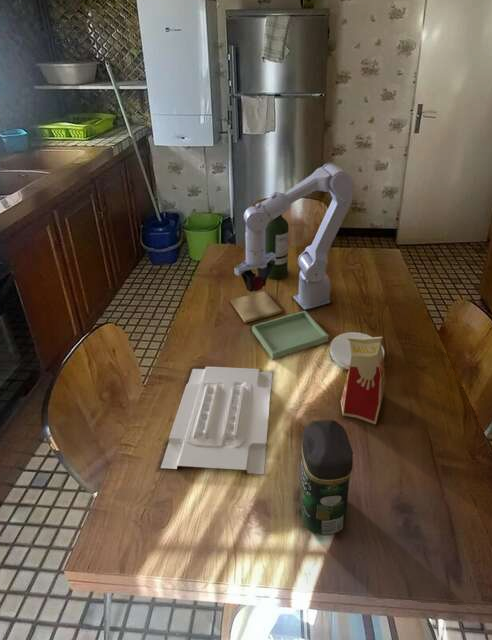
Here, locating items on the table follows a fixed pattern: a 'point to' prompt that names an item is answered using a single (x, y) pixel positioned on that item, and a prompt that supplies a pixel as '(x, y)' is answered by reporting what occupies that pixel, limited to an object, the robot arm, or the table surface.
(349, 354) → the plastic lid
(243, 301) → the board
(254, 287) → the plum
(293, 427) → the table surface
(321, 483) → the coffee jar
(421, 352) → the table surface
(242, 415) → the tray
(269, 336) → the tray
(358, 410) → the milk carton
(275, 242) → the wine bottle
